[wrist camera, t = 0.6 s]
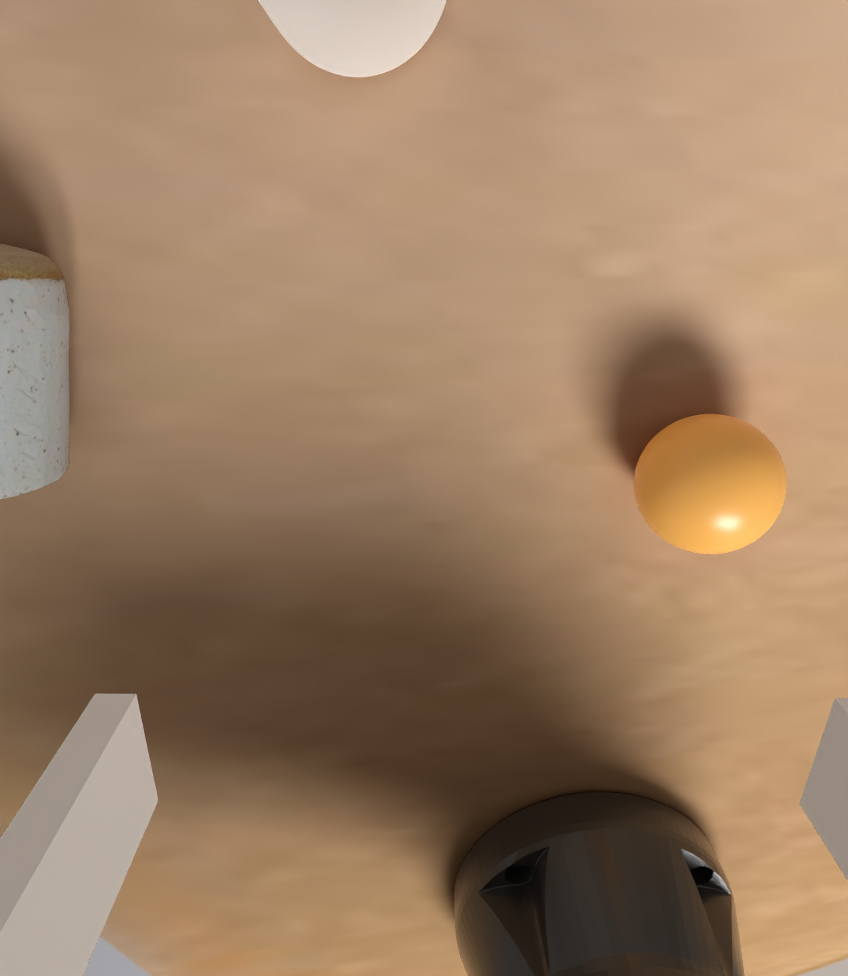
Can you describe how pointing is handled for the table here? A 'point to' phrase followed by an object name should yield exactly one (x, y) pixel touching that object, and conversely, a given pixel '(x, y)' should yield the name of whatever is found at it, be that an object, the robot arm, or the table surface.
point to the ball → (710, 483)
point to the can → (355, 31)
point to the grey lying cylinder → (32, 372)
